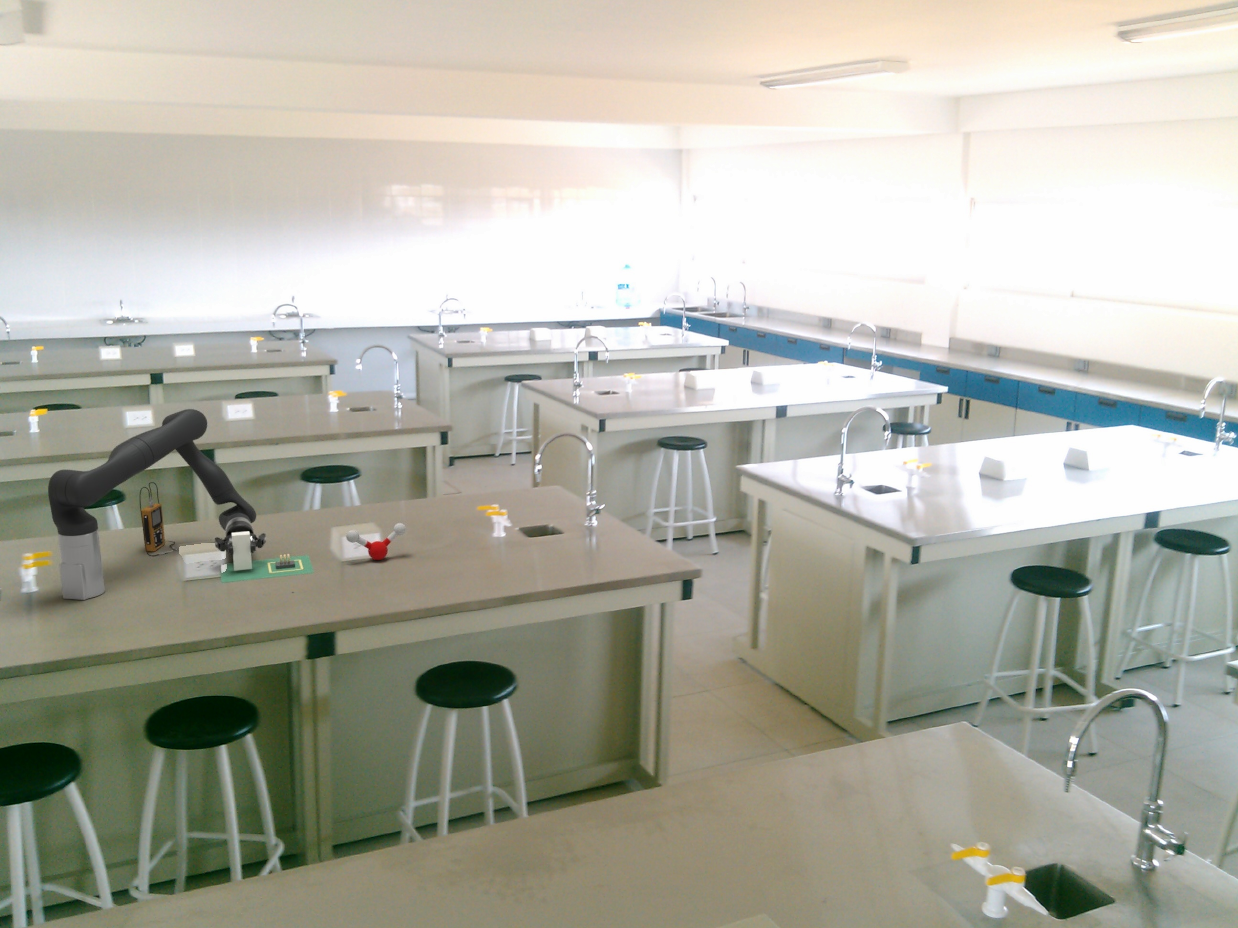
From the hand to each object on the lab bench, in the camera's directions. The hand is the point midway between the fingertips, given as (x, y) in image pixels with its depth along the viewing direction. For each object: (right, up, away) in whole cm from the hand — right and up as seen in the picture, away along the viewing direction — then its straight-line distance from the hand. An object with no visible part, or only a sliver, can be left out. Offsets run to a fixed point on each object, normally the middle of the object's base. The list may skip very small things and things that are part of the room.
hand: (242, 550), depth 273 cm
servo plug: (-1, -5, +4) cm, 7 cm away
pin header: (+9, -5, +8) cm, 13 cm away
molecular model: (+32, -5, +20) cm, 38 cm away
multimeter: (-32, -2, +26) cm, 42 cm away
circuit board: (+4, -7, +7) cm, 11 cm away
